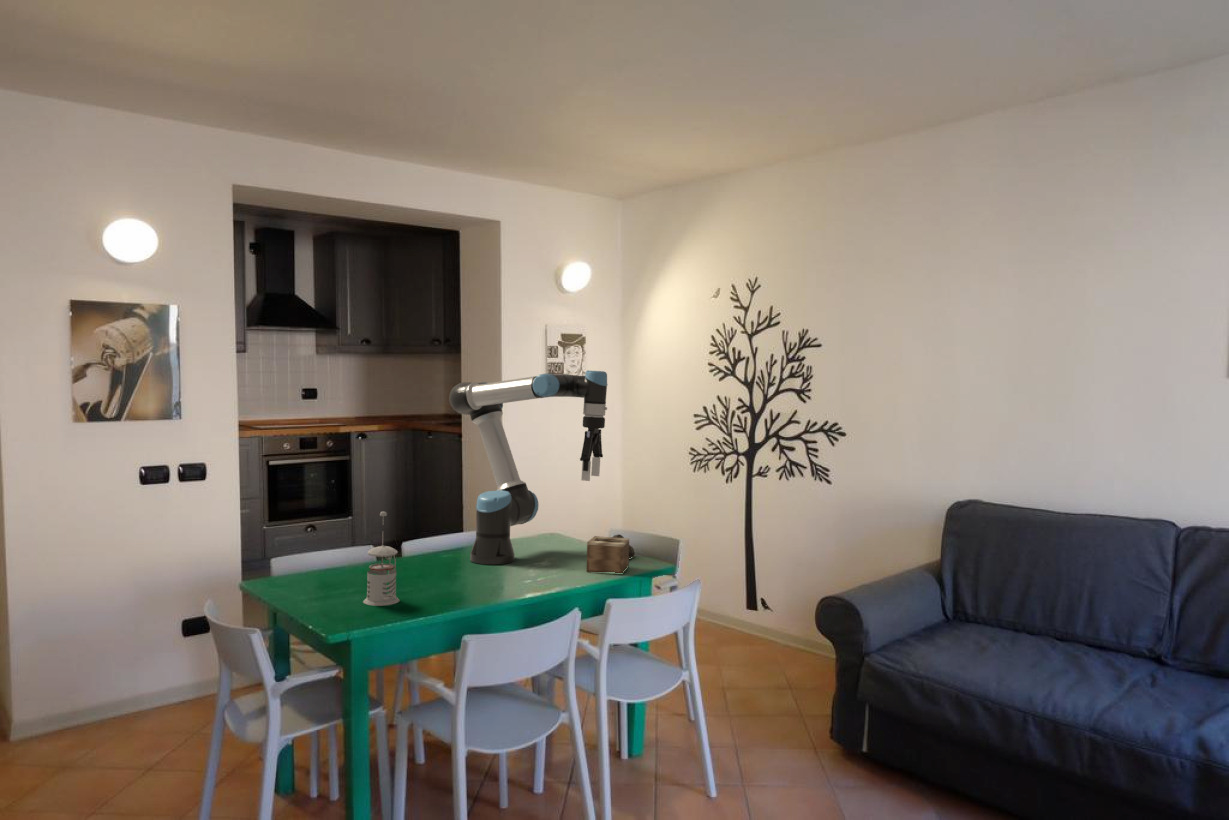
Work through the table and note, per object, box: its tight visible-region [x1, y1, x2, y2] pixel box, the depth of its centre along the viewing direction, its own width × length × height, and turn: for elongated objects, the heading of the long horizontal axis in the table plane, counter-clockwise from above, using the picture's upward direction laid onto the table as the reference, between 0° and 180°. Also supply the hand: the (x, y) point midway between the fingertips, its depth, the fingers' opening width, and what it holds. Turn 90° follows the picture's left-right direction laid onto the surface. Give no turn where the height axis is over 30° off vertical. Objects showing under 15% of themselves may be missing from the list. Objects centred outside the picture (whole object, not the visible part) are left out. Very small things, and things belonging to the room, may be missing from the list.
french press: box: [362, 511, 401, 607], centre depth 229 cm, size 10×12×25 cm
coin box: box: [585, 535, 630, 574], centre depth 275 cm, size 12×11×10 cm
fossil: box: [612, 533, 636, 558], centre depth 295 cm, size 11×9×10 cm
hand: (590, 478), depth 280 cm, fingers open, 13 cm apart
